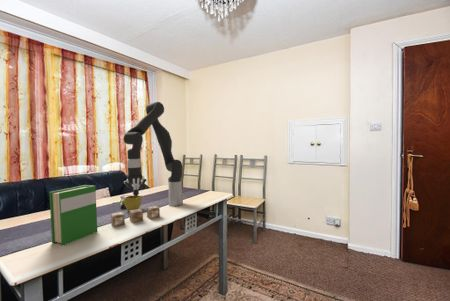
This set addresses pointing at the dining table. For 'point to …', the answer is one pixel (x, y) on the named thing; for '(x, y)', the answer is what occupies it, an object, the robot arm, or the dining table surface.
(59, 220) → the hardback book
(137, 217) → the plain block
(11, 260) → the dining table surface
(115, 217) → the labelled block
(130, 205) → the flower pot
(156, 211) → the labelled block
